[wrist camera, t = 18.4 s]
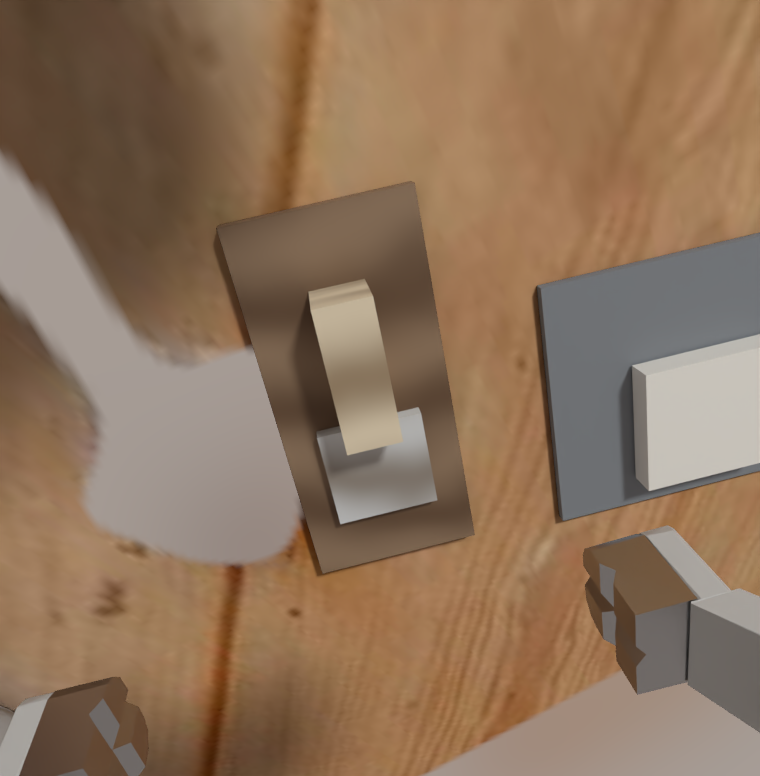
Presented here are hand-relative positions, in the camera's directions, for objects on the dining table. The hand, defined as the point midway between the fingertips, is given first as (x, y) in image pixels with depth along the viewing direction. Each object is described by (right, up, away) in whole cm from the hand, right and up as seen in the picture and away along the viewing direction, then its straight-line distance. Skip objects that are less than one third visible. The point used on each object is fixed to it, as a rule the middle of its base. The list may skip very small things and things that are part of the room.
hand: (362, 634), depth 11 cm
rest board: (-1, +4, +25) cm, 26 cm away
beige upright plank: (-1, +3, +24) cm, 25 cm away
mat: (+19, +5, +28) cm, 34 cm away
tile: (+19, +6, +25) cm, 33 cm away
